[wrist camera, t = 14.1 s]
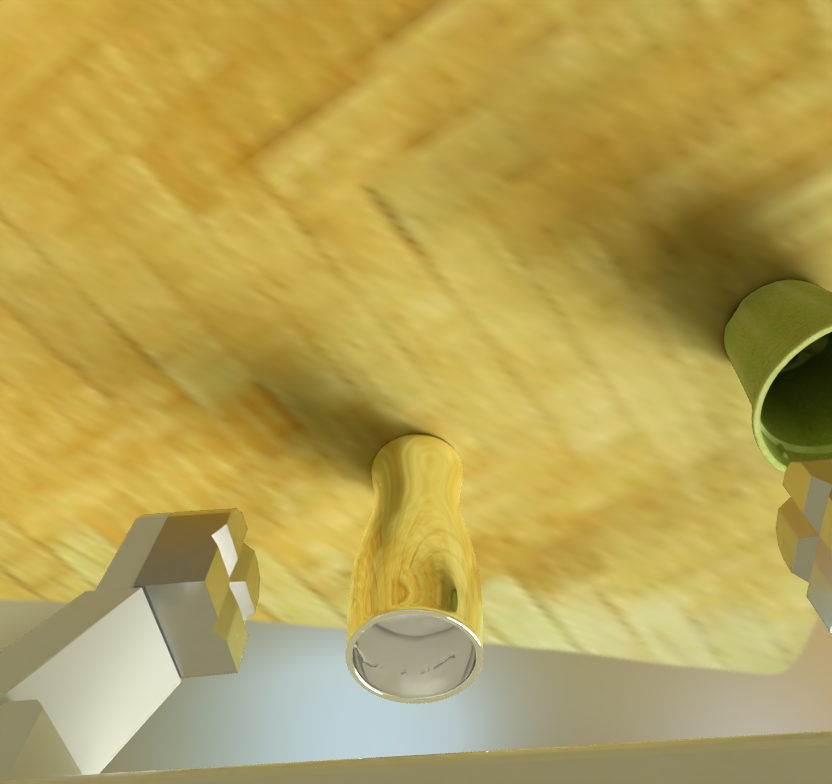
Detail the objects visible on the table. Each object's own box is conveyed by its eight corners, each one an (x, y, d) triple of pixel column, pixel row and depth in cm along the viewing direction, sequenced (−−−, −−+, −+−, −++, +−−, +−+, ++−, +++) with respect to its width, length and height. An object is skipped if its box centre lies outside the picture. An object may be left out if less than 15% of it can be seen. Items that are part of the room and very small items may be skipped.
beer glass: (458, 417, 44) (471, 595, 31) (479, 502, 47) (500, 696, 34) (352, 439, 45) (322, 620, 32) (380, 521, 48) (363, 716, 35)
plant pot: (875, 357, 41) (976, 437, 34) (720, 420, 44) (781, 509, 36) (842, 220, 37) (947, 276, 30) (672, 298, 40) (730, 368, 32)
